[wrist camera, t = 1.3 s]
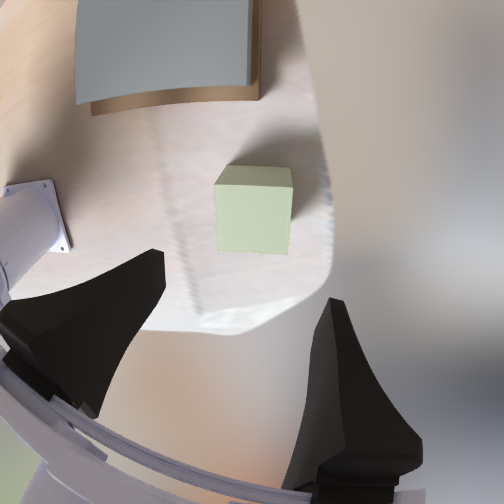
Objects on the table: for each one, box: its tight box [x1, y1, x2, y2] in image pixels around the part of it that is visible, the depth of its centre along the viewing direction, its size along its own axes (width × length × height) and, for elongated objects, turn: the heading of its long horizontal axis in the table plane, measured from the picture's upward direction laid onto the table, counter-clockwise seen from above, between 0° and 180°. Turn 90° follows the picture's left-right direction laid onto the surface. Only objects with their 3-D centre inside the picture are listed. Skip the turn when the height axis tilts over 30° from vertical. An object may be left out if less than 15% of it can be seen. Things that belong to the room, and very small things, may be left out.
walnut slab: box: [91, 0, 261, 116], centre depth 14 cm, size 12×10×2 cm
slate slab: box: [75, 0, 253, 105], centre depth 12 cm, size 11×8×2 cm
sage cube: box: [214, 165, 293, 255], centre depth 19 cm, size 4×4×4 cm
